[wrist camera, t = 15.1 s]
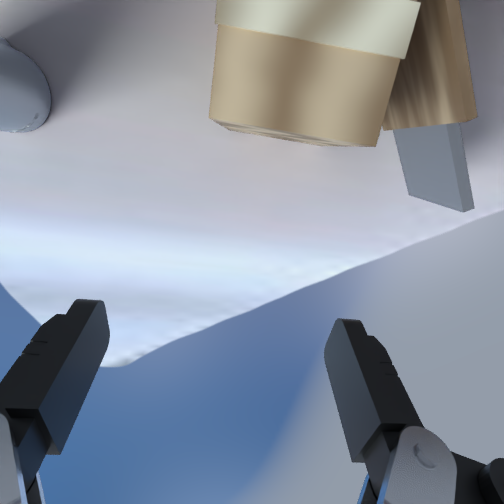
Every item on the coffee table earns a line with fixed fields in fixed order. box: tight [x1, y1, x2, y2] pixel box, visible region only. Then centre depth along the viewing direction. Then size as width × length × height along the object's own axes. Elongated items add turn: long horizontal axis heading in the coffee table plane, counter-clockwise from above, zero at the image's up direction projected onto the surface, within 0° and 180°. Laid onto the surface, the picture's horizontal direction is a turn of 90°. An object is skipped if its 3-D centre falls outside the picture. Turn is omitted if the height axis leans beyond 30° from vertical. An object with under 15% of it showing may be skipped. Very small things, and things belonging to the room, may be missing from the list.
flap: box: [382, 0, 477, 212], centre depth 29 cm, size 1×20×15 cm, turn 23°
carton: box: [209, 0, 421, 147], centre depth 27 cm, size 12×14×18 cm
